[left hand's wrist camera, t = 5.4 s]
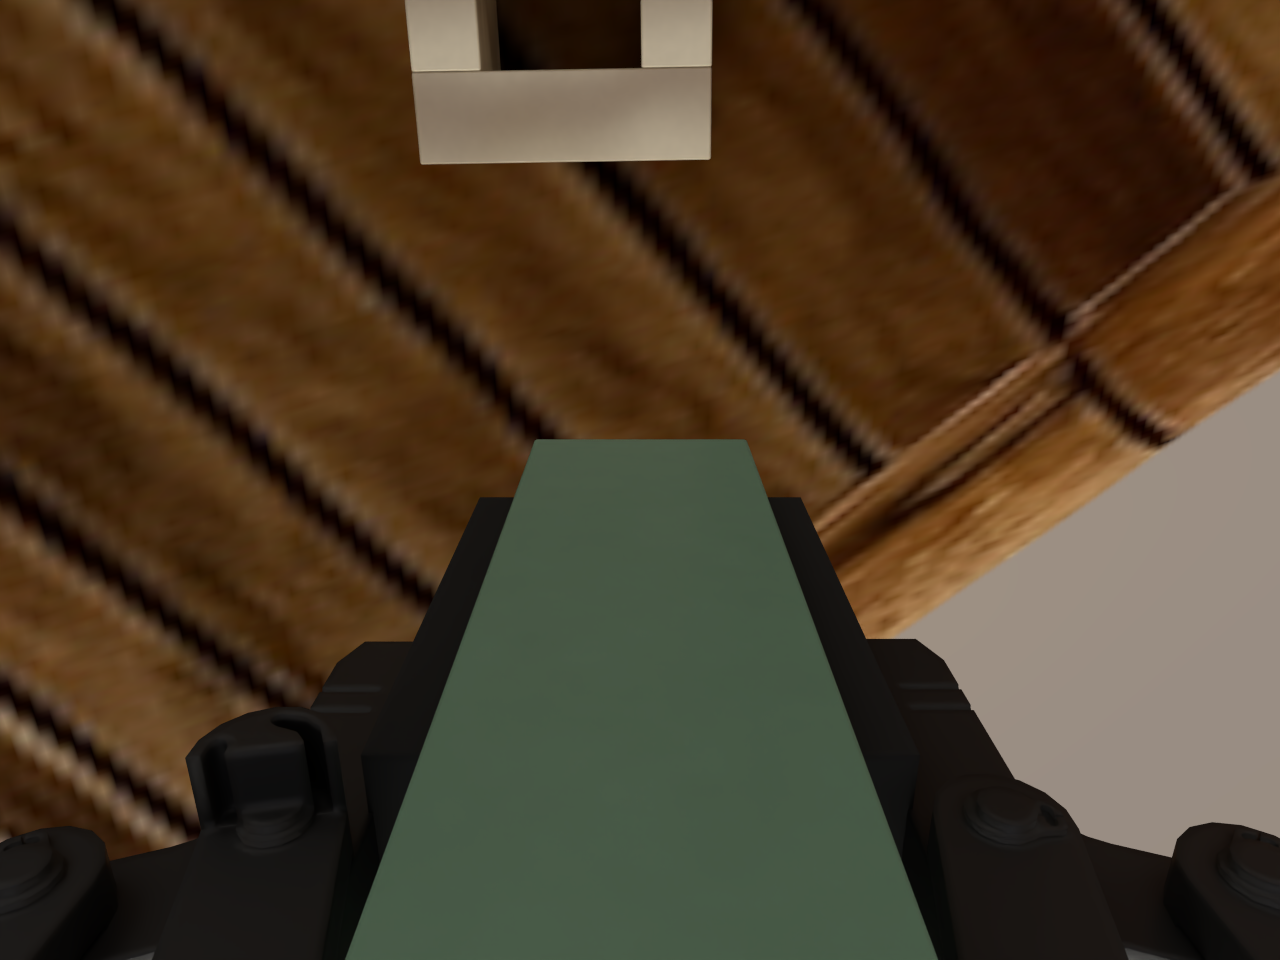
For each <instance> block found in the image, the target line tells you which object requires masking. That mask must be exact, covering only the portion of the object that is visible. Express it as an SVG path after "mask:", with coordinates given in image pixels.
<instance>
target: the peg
mask: <svg viewBox="0 0 1280 960" xmlns="http://www.w3.org/2000/svg"><path fill="white" fill-rule="evenodd" d="M345 960H938V958H937V955H936V953H935V950H934V947H933V945H932V942H931V939H930V936H929V934H928V931H927V928H926V926H925V923H924V920H923V917H922V915H921V912H920V909H919V907H918V904H917V901H916V899H915V896H914V893H913V890H912V888H911V885H910V882H909V880H908V877H907V874H906V871H905V869H904V866H903V863H902V861H901V858H900V855H899V852H898V850H897V847H896V844H895V842H894V839H893V836H892V834H891V831H890V828H889V825H888V823H887V820H886V817H885V815H884V812H883V809H882V806H881V804H880V801H879V798H878V796H877V793H876V790H875V787H874V785H873V782H872V779H871V777H870V774H869V771H868V768H867V766H866V763H865V760H864V758H863V755H862V752H861V750H860V747H859V744H858V741H857V739H856V736H855V733H854V731H853V728H852V725H851V722H850V720H849V717H848V714H847V712H846V709H845V706H844V703H843V701H842V698H841V695H840V693H839V690H838V687H837V685H836V682H835V679H834V676H833V674H832V671H831V668H830V666H829V663H828V660H827V657H826V655H825V652H824V649H823V647H822V644H821V641H820V638H819V636H818V633H817V630H816V628H815V625H814V622H813V620H812V617H811V614H810V611H809V609H808V606H807V603H806V601H805V598H804V595H803V592H802V590H801V587H800V584H799V582H798V579H797V576H796V573H795V571H794V568H793V565H792V563H791V560H790V557H789V554H788V552H787V549H786V546H785V544H784V541H783V538H782V536H781V533H780V530H779V527H778V525H777V522H776V519H775V517H774V514H773V511H772V508H771V506H770V503H769V500H768V498H767V495H766V492H765V489H764V487H763V484H762V481H761V479H760V476H759V473H758V471H757V468H756V465H755V462H754V460H753V457H752V454H751V452H750V449H749V446H748V443H747V441H746V440H535V442H534V445H533V447H532V450H531V453H530V455H529V458H528V461H527V464H526V466H525V469H524V472H523V475H522V477H521V480H520V483H519V486H518V488H517V491H516V494H515V496H514V499H513V502H512V505H511V507H510V510H509V513H508V516H507V518H506V521H505V524H504V527H503V529H502V532H501V535H500V537H499V540H498V543H497V546H496V548H495V551H494V554H493V557H492V559H491V562H490V565H489V568H488V570H487V573H486V576H485V578H484V581H483V584H482V587H481V589H480V592H479V595H478V598H477V600H476V603H475V606H474V609H473V611H472V614H471V617H470V619H469V622H468V625H467V628H466V630H465V633H464V636H463V639H462V641H461V644H460V647H459V650H458V652H457V655H456V658H455V660H454V663H453V666H452V669H451V671H450V674H449V677H448V680H447V682H446V685H445V688H444V691H443V693H442V696H441V699H440V701H439V704H438V707H437V710H436V712H435V715H434V718H433V721H432V723H431V726H430V729H429V732H428V734H427V737H426V740H425V742H424V745H423V748H422V751H421V753H420V756H419V759H418V762H417V764H416V767H415V770H414V773H413V775H412V778H411V781H410V783H409V786H408V789H407V792H406V794H405V797H404V800H403V803H402V805H401V808H400V811H399V814H398V816H397V819H396V822H395V824H394V827H393V830H392V833H391V835H390V838H389V841H388V844H387V846H386V849H385V852H384V855H383V857H382V860H381V863H380V865H379V868H378V871H377V874H376V876H375V879H374V882H373V885H372V887H371V890H370V893H369V896H368V898H367V901H366V904H365V906H364V909H363V912H362V915H361V917H360V920H359V923H358V926H357V928H356V931H355V934H354V937H353V939H352V942H351V945H350V947H349V950H348V953H347V956H346V958H345Z"/></svg>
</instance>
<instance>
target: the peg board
mask: <svg viewBox="0 0 1280 960" xmlns="http://www.w3.org/2000/svg"><path fill="white" fill-rule="evenodd" d="M405 8H406V19H407V29H408V39H409V49H410V60H411V70H412V72H413V73H412V81H413V92H414V102H415V112H416V122H417V132H418V143H419V153H420V162H421V164H473V163H532V162H590V161H648V160H707V159H710V158H711V88H712V68H711V65H712V0H641V66H642V68H615V69H561V70H507V71H501V67H500V51H499V36H498V21H497V5H496V0H405Z"/></svg>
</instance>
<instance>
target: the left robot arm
mask: <svg viewBox="0 0 1280 960" xmlns="http://www.w3.org/2000/svg"><path fill="white" fill-rule="evenodd" d="M767 498H768V500H769V503H770V506H771V508H772V511H773V514H774V517H775V519H776V522H777V525H778V527H779V530H780V533H781V536H782V538H783V541H784V544H785V546H786V549H787V552H788V554H789V557H790V560H791V563H792V565H793V568H794V571H795V573H796V576H797V579H798V582H799V584H800V587H801V590H802V592H803V595H804V598H805V601H806V603H807V606H808V609H809V611H810V614H811V617H812V620H813V622H814V625H815V628H816V630H817V633H818V636H819V638H820V641H821V644H822V647H823V649H824V652H825V655H826V657H827V660H828V663H829V666H830V668H831V671H832V674H833V676H834V679H835V682H836V685H837V687H838V690H839V693H840V695H841V698H842V701H843V703H844V706H845V709H846V712H847V714H848V717H849V720H850V722H851V725H852V728H853V731H854V733H855V736H856V739H857V741H858V744H859V747H860V750H861V752H862V755H863V758H864V760H865V763H866V766H867V768H868V771H869V774H870V777H871V779H872V782H873V785H874V787H875V790H876V793H877V796H878V798H879V801H880V804H881V806H882V809H883V812H884V815H885V817H886V820H887V823H888V825H889V828H890V831H891V834H892V836H893V839H894V842H895V844H896V847H897V850H898V852H899V855H900V858H901V861H902V863H903V866H904V869H905V871H906V874H907V877H908V880H909V882H910V885H911V888H912V890H913V893H914V896H915V899H916V901H917V904H918V907H919V909H920V912H921V915H922V917H923V920H924V923H925V926H926V928H927V931H928V934H929V936H930V939H931V942H932V945H933V947H934V950H935V953H936V955H937V958H938V960H1280V838H1278V837H1276V836H1274V835H1271V834H1268V833H1265V832H1262V831H1258V830H1255V829H1252V828H1249V827H1245V826H1242V825H1234V824H1224V823H1213V822H1212V823H1207V824H1202V825H1197V826H1193V827H1189V828H1188V829H1187V830H1186V831H1185V832H1184V833H1183V834H1182V835H1181V836H1180V837H1179V838H1178V839H1177V841H1176V845H1175V849H1174V852H1173V856H1172V858H1171V857H1167V856H1162V855H1158V854H1154V853H1149V852H1145V851H1140V850H1136V849H1131V848H1127V847H1123V846H1119V845H1114V844H1110V843H1107V842H1104V841H1100V840H1097V839H1094V838H1090V837H1087V836H1085V835H1083V834H1081V833H1080V831H1079V828H1078V827H1077V825H1076V824H1075V822H1074V821H1073V819H1072V818H1071V816H1070V815H1069V813H1068V812H1067V810H1066V809H1065V808H1064V807H1062V806H1061V805H1060V804H1059V803H1057V802H1056V801H1055V800H1054V799H1052V798H1051V797H1050V796H1049V795H1047V794H1046V793H1045V792H1043V791H1041V790H1038V789H1036V788H1034V787H1032V786H1030V785H1028V784H1026V783H1024V782H1022V781H1019V780H1016V779H1014V777H1013V775H1012V774H1011V772H1010V770H1009V768H1008V767H1007V765H1006V764H1005V762H1004V760H1003V758H1002V757H1001V755H1000V753H999V752H998V750H997V748H996V747H995V745H994V743H993V742H992V740H991V738H990V737H989V735H988V733H987V732H986V730H985V728H984V727H983V725H982V723H981V722H980V720H979V718H978V717H977V715H976V713H975V712H974V710H971V708H970V703H969V702H968V700H967V698H966V697H965V695H964V693H963V692H962V690H961V689H959V688H958V683H957V681H956V680H955V678H954V677H953V675H952V673H951V671H950V670H949V668H948V666H947V665H946V663H945V661H944V660H943V659H942V658H940V657H939V656H938V655H936V654H935V653H934V652H932V651H931V650H930V649H928V648H927V647H926V646H924V645H923V644H922V643H920V642H919V641H918V640H916V639H866V638H865V635H864V633H863V631H862V629H861V627H860V625H859V623H858V620H857V618H856V616H855V614H854V612H853V610H852V607H851V605H850V603H849V601H848V599H847V597H846V595H845V592H844V590H843V588H842V586H841V584H840V582H839V579H838V577H837V575H836V573H835V571H834V569H833V566H832V564H831V562H830V560H829V558H828V556H827V554H826V551H825V549H824V547H823V545H822V543H821V541H820V538H819V536H818V534H817V532H816V530H815V528H814V525H813V523H812V521H811V519H810V517H809V515H808V513H807V510H806V508H805V506H804V504H803V502H802V500H801V497H767ZM513 499H514V497H480V499H479V501H478V503H477V505H476V507H475V509H474V512H473V514H472V516H471V518H470V520H469V522H468V525H467V527H466V529H465V531H464V533H463V535H462V538H461V540H460V542H459V544H458V546H457V548H456V550H455V553H454V555H453V557H452V559H451V561H450V563H449V566H448V568H447V570H446V572H445V574H444V576H443V579H442V581H441V583H440V585H439V587H438V589H437V591H436V594H435V596H434V598H433V600H432V602H431V604H430V607H429V609H428V611H427V613H426V615H425V617H424V620H423V622H422V624H421V626H420V628H419V630H418V632H417V635H416V637H415V639H414V641H413V642H364V643H363V644H361V645H360V646H359V647H357V648H356V649H355V650H354V651H352V652H351V653H350V654H348V655H347V656H346V657H344V658H343V659H342V660H340V661H339V662H338V663H337V664H336V666H335V667H334V669H333V671H332V673H331V674H330V676H329V678H328V679H327V681H326V683H325V684H324V686H323V691H322V692H320V693H319V694H318V696H317V698H316V700H315V701H314V703H313V705H312V706H311V710H310V709H306V708H303V707H274V708H269V709H265V710H260V711H255V712H250V713H247V714H244V715H242V716H240V717H237V718H235V719H232V720H230V721H228V722H225V723H223V724H221V725H219V726H218V727H217V728H215V729H214V730H212V731H211V732H209V733H208V734H207V735H205V736H204V737H202V738H201V739H200V740H198V742H197V743H196V744H195V746H194V747H193V748H192V750H191V751H190V752H189V754H188V755H187V756H186V758H185V759H186V763H187V768H188V772H189V777H190V781H191V785H192V790H193V794H194V799H195V803H196V808H197V812H198V817H199V821H200V826H201V832H200V835H199V838H197V839H195V840H192V841H189V842H186V843H182V844H179V845H176V846H173V847H169V848H164V849H160V850H156V851H151V852H147V853H143V854H138V855H134V856H130V857H125V858H121V859H117V860H112V861H109V857H108V853H107V850H106V846H105V843H104V842H103V841H102V840H101V839H100V838H99V837H98V836H97V835H96V834H95V833H94V832H93V831H91V830H86V829H82V828H77V827H72V826H64V827H54V828H44V829H38V830H35V831H32V832H29V833H26V834H22V835H19V836H16V837H13V838H10V839H7V840H5V841H3V842H1V843H0V960H345V958H346V956H347V953H348V950H349V947H350V945H351V942H352V939H353V937H354V934H355V931H356V928H357V926H358V923H359V920H360V917H361V915H362V912H363V909H364V906H365V904H366V901H367V898H368V896H369V893H370V890H371V887H372V885H373V882H374V879H375V876H376V874H377V871H378V868H379V865H380V863H381V860H382V857H383V855H384V852H385V849H386V846H387V844H388V841H389V838H390V835H391V833H392V830H393V827H394V824H395V822H396V819H397V816H398V814H399V811H400V808H401V805H402V803H403V800H404V797H405V794H406V792H407V789H408V786H409V783H410V781H411V778H412V775H413V773H414V770H415V767H416V764H417V762H418V759H419V756H420V753H421V751H422V748H423V745H424V742H425V740H426V737H427V734H428V732H429V729H430V726H431V723H432V721H433V718H434V715H435V712H436V710H437V707H438V704H439V701H440V699H441V696H442V693H443V691H444V688H445V685H446V682H447V680H448V677H449V674H450V671H451V669H452V666H453V663H454V660H455V658H456V655H457V652H458V650H459V647H460V644H461V641H462V639H463V636H464V633H465V630H466V628H467V625H468V622H469V619H470V617H471V614H472V611H473V609H474V606H475V603H476V600H477V598H478V595H479V592H480V589H481V587H482V584H483V581H484V578H485V576H486V573H487V570H488V568H489V565H490V562H491V559H492V557H493V554H494V551H495V548H496V546H497V543H498V540H499V537H500V535H501V532H502V529H503V527H504V524H505V521H506V518H507V516H508V513H509V510H510V507H511V505H512V502H513Z"/></svg>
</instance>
